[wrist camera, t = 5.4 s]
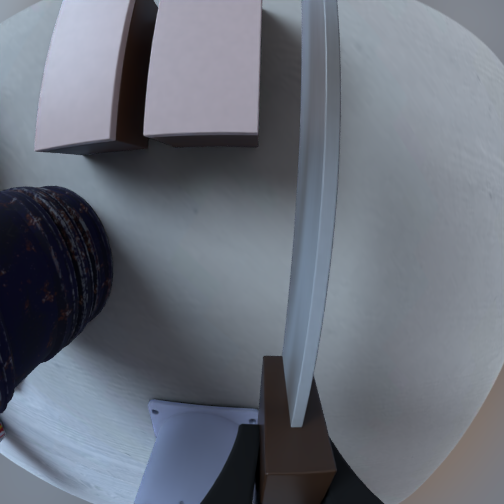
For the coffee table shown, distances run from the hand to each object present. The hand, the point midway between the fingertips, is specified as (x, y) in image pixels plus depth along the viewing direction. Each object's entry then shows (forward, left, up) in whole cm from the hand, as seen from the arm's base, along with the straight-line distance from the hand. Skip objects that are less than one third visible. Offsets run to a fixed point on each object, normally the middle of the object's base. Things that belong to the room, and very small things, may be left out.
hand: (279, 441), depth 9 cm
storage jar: (+4, +14, -9) cm, 17 cm away
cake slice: (+15, +3, -8) cm, 18 cm away
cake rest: (+15, +9, -8) cm, 20 cm away
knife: (+7, 0, -1) cm, 7 cm away
